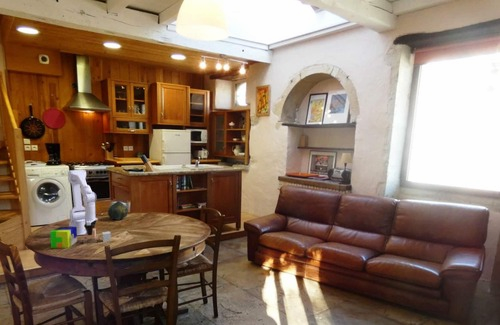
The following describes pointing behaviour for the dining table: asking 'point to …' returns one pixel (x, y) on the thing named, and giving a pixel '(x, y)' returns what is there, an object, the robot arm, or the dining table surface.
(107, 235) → the light grey block
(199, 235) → the dining table surface
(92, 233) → the peach block
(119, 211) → the squash
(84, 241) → the wood slab
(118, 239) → the dining table surface
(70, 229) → the puzzle toy
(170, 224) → the dining table surface
